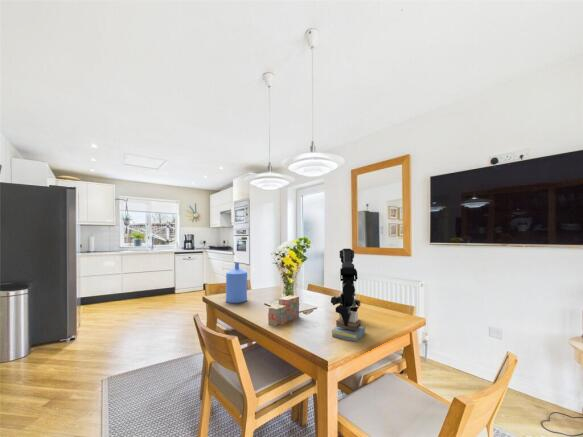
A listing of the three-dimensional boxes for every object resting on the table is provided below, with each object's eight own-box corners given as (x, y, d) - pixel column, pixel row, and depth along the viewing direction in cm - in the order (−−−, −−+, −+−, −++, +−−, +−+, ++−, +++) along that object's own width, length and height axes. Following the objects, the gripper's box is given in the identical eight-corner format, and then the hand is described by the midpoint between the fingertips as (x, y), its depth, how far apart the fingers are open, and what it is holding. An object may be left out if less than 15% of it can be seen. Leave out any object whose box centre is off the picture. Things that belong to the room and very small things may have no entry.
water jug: (250, 301, 195) (250, 263, 197) (229, 304, 187) (229, 264, 189) (242, 297, 209) (243, 261, 210) (223, 299, 201) (223, 262, 202)
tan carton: (342, 317, 135) (342, 309, 135) (350, 319, 132) (349, 310, 133) (339, 319, 131) (339, 311, 131) (347, 321, 129) (347, 312, 129)
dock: (342, 328, 139) (342, 322, 139) (365, 332, 132) (365, 326, 133) (331, 336, 128) (331, 330, 128) (355, 341, 121) (355, 335, 121)
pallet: (341, 322, 136) (341, 316, 136) (360, 326, 131) (360, 320, 131) (336, 326, 130) (336, 320, 131) (356, 330, 125) (356, 324, 125)
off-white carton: (350, 319, 132) (349, 310, 133) (357, 320, 130) (357, 312, 131) (347, 321, 129) (347, 312, 129) (355, 322, 127) (355, 314, 127)
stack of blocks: (276, 326, 142) (277, 303, 143) (268, 324, 145) (268, 301, 146) (299, 316, 159) (299, 296, 160) (290, 315, 163) (290, 294, 164)
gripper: (340, 286, 144) (340, 316, 143) (325, 293, 128) (325, 326, 127) (360, 289, 138) (361, 319, 137) (347, 296, 122) (347, 330, 121)
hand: (348, 323), depth 131 cm, fingers closed on pallet, 7 cm apart
